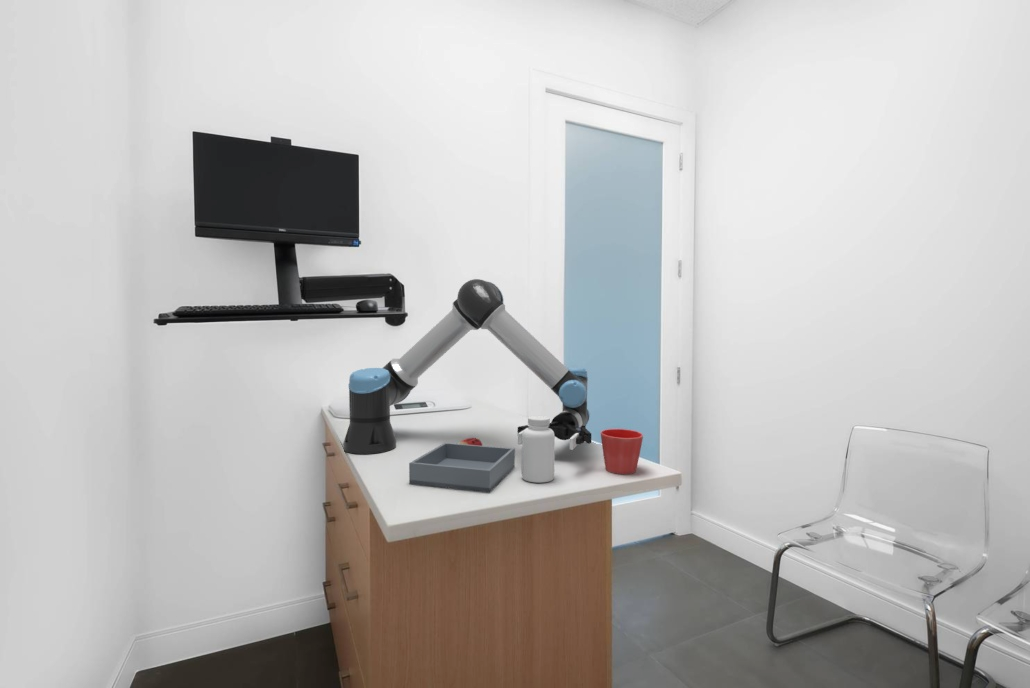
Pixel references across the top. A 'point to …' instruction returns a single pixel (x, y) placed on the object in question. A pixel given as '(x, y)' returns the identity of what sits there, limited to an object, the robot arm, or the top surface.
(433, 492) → the top surface
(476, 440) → the ladybug figurine
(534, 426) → the pill bottle
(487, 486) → the tray
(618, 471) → the flower pot
